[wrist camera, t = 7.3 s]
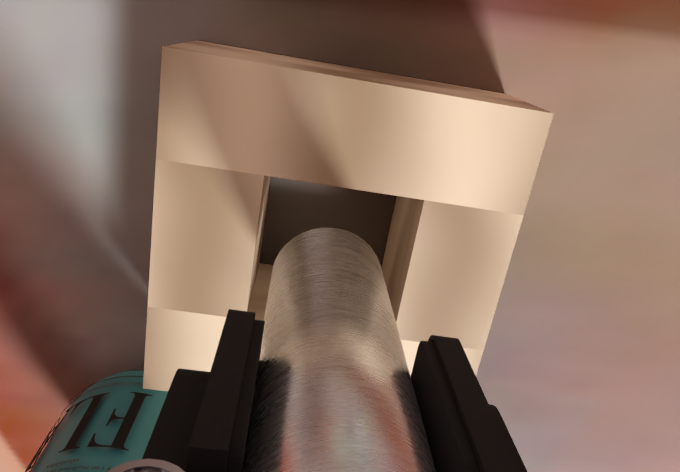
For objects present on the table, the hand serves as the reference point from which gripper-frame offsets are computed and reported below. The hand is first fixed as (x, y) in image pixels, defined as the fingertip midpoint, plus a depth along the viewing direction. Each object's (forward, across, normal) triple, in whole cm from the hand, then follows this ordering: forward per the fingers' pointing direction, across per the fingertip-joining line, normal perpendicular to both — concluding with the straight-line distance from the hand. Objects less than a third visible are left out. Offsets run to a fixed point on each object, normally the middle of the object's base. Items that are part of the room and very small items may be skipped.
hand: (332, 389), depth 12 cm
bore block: (+11, 0, 0) cm, 11 cm away
